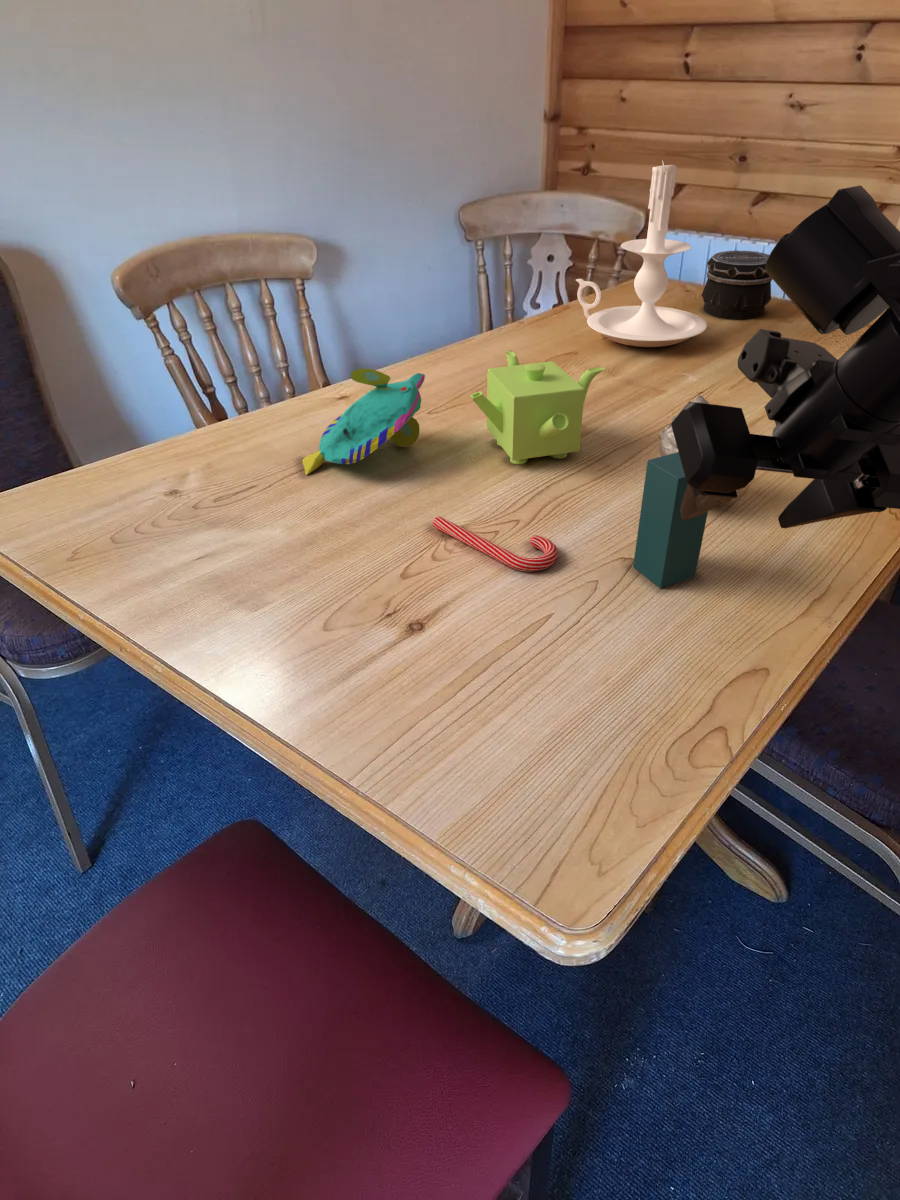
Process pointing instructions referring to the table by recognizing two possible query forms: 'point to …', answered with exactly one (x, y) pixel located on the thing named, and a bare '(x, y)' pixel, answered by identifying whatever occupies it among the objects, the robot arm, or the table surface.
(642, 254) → the candlestick
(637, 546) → the block
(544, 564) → the candy cane
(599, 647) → the table surface
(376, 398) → the decorative fish
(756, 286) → the container
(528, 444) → the kettle
